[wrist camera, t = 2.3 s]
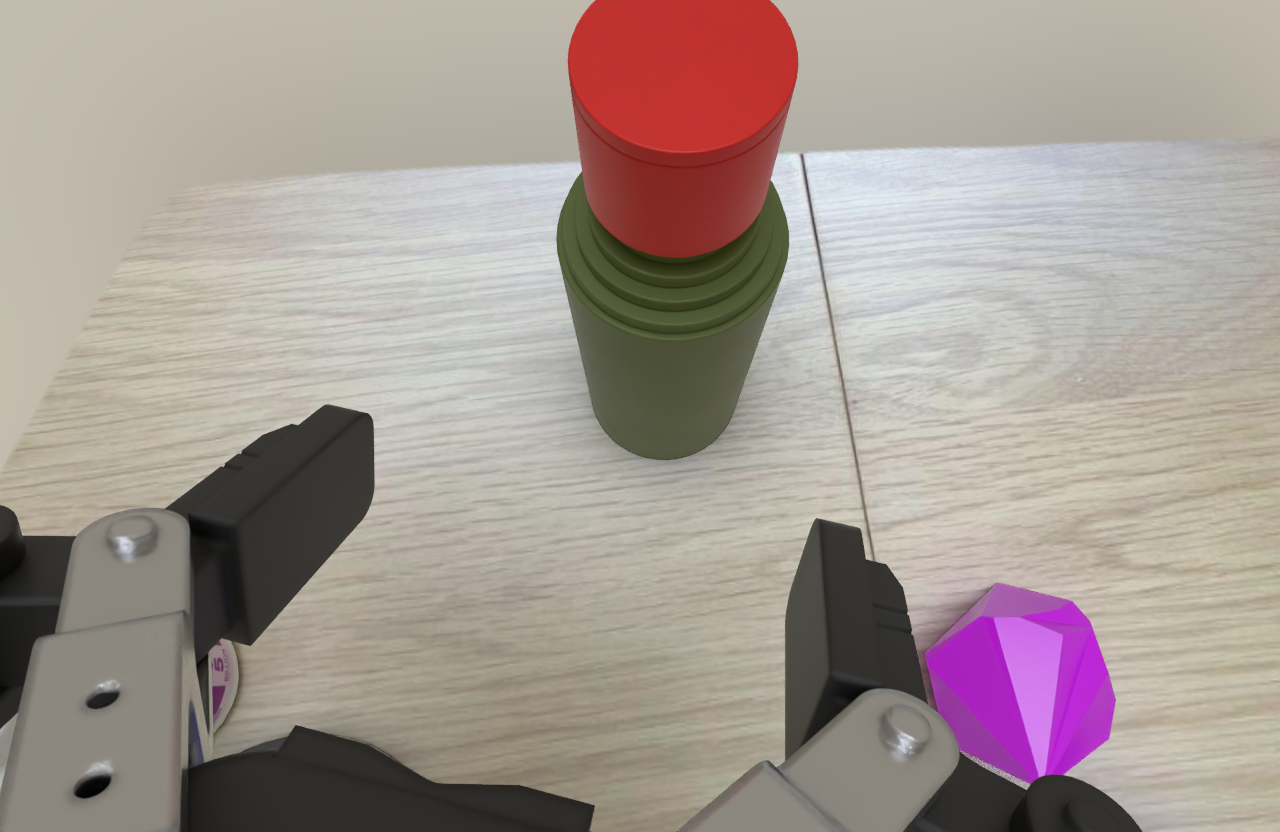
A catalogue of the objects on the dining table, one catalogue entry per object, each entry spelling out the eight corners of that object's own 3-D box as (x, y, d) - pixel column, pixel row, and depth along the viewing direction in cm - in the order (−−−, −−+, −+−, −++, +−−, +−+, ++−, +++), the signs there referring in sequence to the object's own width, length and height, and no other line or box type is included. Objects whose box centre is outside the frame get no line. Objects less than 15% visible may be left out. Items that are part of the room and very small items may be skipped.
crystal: (1089, 708, 27) (1176, 720, 22) (961, 780, 26) (1025, 806, 22) (1007, 576, 28) (1073, 562, 24) (884, 640, 27) (929, 639, 23)
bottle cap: (560, 237, 16) (537, 127, 13) (606, 86, 18) (596, -51, 14) (749, 275, 16) (776, 174, 13) (782, 119, 17) (815, -13, 14)
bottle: (574, 441, 30) (480, 180, 13) (610, 309, 32) (568, -70, 15) (720, 474, 29) (815, 246, 13) (749, 338, 31) (865, -20, 14)
